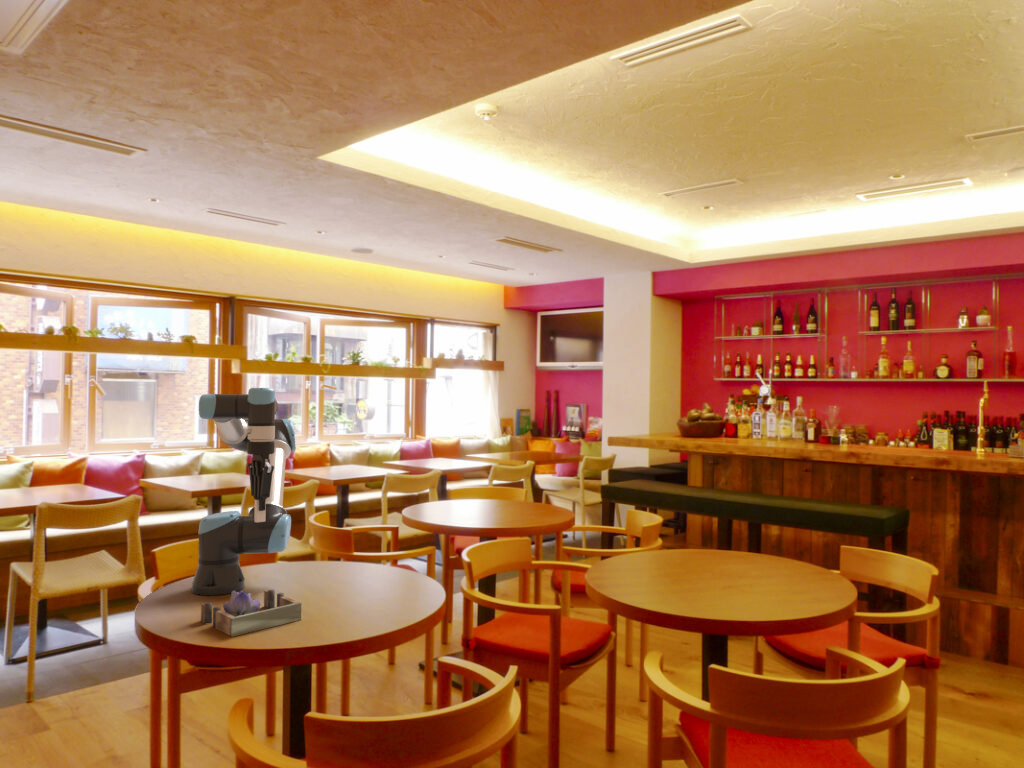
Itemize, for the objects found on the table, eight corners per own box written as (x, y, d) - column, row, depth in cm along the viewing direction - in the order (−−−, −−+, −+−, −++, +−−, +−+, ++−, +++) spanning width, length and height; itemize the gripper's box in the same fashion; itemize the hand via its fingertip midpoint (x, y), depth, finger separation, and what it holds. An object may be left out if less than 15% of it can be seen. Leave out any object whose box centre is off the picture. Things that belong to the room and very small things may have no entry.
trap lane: (199, 621, 187) (200, 602, 187) (268, 605, 202) (269, 587, 202) (231, 637, 175) (231, 616, 175) (302, 619, 189) (302, 600, 189)
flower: (260, 603, 181) (249, 579, 188) (227, 621, 178) (216, 595, 185) (271, 625, 186) (259, 601, 194) (239, 643, 183) (228, 618, 190)
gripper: (239, 439, 209) (238, 520, 208) (257, 442, 199) (256, 526, 199) (264, 438, 214) (263, 517, 213) (283, 441, 204) (281, 523, 204)
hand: (259, 521), depth 206 cm, fingers closed
